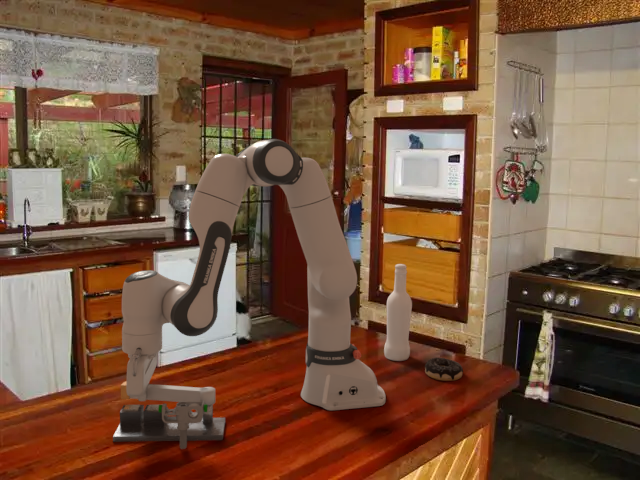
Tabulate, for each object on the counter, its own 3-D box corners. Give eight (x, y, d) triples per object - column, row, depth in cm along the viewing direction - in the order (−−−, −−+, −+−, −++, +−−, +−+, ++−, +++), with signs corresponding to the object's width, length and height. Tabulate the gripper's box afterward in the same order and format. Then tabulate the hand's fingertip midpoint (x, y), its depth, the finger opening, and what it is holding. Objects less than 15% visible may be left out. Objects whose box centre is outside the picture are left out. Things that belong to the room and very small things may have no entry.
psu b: (143, 418, 146) (143, 403, 146) (140, 426, 143) (140, 410, 142) (124, 418, 146) (123, 403, 145) (120, 426, 142) (119, 410, 142)
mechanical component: (160, 444, 137) (160, 401, 135) (207, 443, 138) (207, 400, 136) (158, 451, 134) (157, 407, 132) (206, 450, 135) (206, 406, 133)
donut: (425, 380, 179) (425, 367, 178) (423, 366, 190) (424, 354, 190) (464, 383, 177) (465, 370, 177) (460, 369, 189) (461, 356, 188)
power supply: (166, 418, 147) (166, 403, 146) (164, 425, 143) (163, 410, 142) (147, 418, 147) (146, 403, 146) (143, 426, 143) (143, 410, 142)
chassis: (225, 422, 148) (225, 400, 147) (222, 440, 139) (222, 416, 139) (122, 423, 146) (121, 400, 145) (113, 441, 137) (112, 417, 137)
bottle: (408, 362, 192) (413, 267, 188) (382, 360, 194) (386, 266, 189) (410, 354, 200) (415, 263, 196) (385, 352, 202) (389, 261, 197)
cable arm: (217, 400, 147) (217, 386, 146) (212, 406, 143) (212, 392, 143) (126, 393, 149) (126, 380, 148) (119, 399, 145) (119, 386, 145)
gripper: (149, 357, 132) (149, 418, 134) (162, 329, 152) (163, 382, 154) (118, 357, 131) (119, 419, 133) (136, 329, 152) (137, 383, 154)
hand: (143, 399), depth 144 cm, fingers closed
